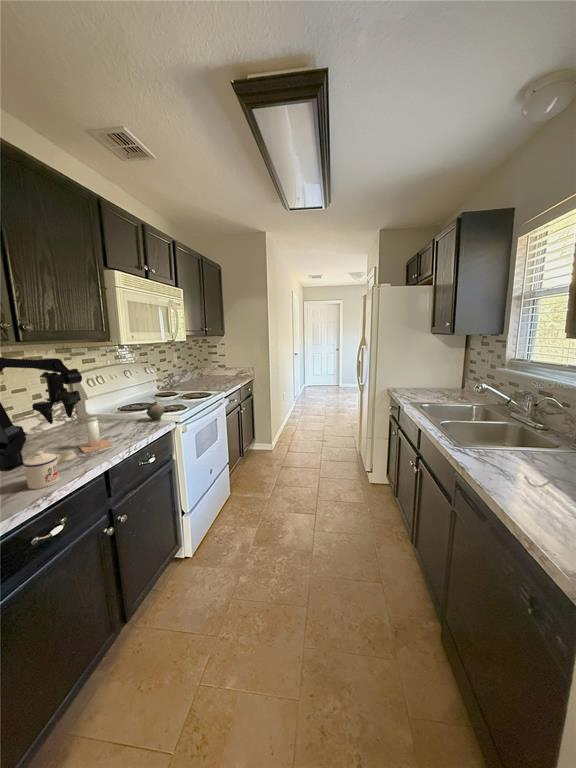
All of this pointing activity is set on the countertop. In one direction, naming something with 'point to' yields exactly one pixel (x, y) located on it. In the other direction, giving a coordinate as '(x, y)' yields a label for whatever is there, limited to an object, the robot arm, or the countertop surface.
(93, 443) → the spice jar
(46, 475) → the teacup with lid
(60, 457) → the mat
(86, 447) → the mat
